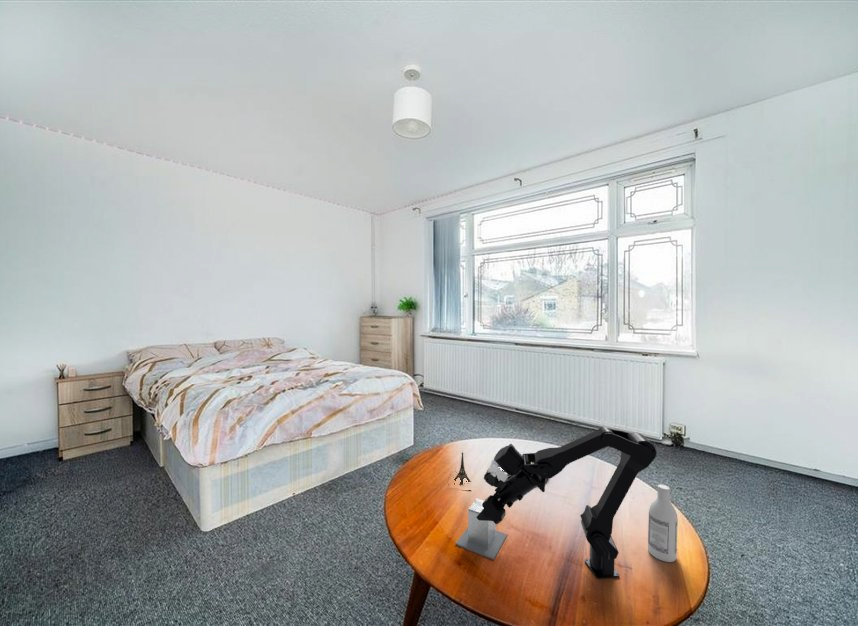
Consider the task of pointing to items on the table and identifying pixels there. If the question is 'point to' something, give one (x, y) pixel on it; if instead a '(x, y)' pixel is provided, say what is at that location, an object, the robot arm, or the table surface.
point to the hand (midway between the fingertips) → (483, 510)
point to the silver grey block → (479, 526)
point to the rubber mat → (483, 551)
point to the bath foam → (662, 527)
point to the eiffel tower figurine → (461, 473)
